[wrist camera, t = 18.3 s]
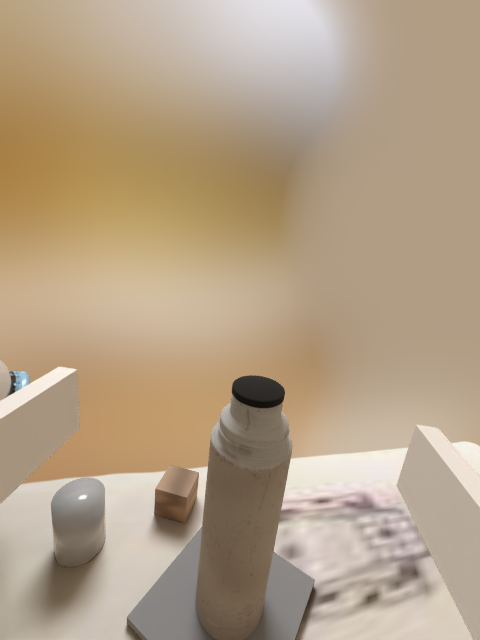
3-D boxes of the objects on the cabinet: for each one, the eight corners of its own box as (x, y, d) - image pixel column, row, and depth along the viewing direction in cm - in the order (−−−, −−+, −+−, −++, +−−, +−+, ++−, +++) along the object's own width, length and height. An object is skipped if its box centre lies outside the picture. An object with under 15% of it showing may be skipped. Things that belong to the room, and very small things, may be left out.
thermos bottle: (220, 549, 40) (243, 360, 32) (274, 588, 36) (313, 383, 29) (180, 608, 33) (198, 386, 26) (240, 663, 29) (281, 421, 22)
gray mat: (126, 623, 32) (126, 617, 32) (214, 516, 46) (214, 511, 45) (253, 763, 24) (254, 756, 24) (313, 585, 38) (314, 580, 38)
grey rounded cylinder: (45, 548, 39) (41, 500, 36) (89, 515, 44) (87, 471, 41) (71, 578, 36) (68, 527, 34) (114, 538, 41) (114, 492, 39)
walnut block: (154, 514, 45) (155, 488, 44) (168, 489, 50) (170, 464, 48) (184, 524, 44) (187, 497, 43) (196, 497, 49) (198, 472, 47)
